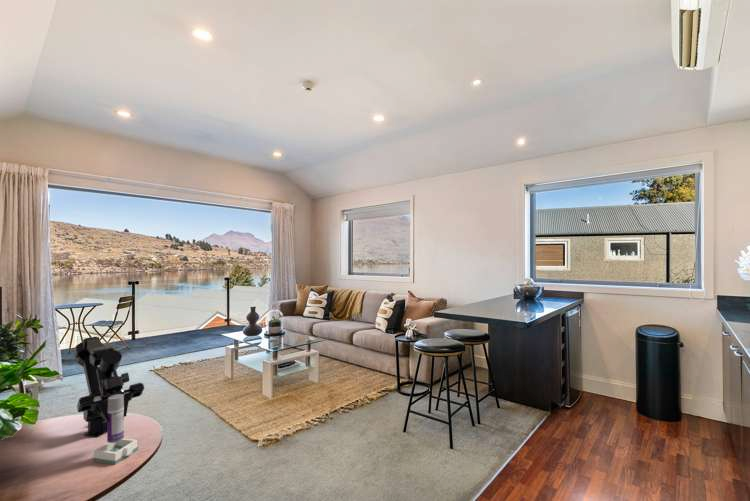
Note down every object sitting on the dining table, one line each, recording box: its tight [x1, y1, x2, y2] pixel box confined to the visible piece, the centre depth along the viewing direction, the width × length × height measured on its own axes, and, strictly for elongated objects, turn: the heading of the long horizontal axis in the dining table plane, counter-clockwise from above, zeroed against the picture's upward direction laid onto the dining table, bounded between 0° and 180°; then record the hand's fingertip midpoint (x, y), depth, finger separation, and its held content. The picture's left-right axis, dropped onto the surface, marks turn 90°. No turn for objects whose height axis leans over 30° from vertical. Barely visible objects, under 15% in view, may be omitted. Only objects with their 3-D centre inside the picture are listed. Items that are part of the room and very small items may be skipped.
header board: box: [92, 438, 139, 465], centre depth 124 cm, size 10×9×4 cm
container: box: [106, 394, 125, 443], centre depth 124 cm, size 5×5×15 cm
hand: (116, 418), depth 123 cm, fingers closed on container, 5 cm apart
